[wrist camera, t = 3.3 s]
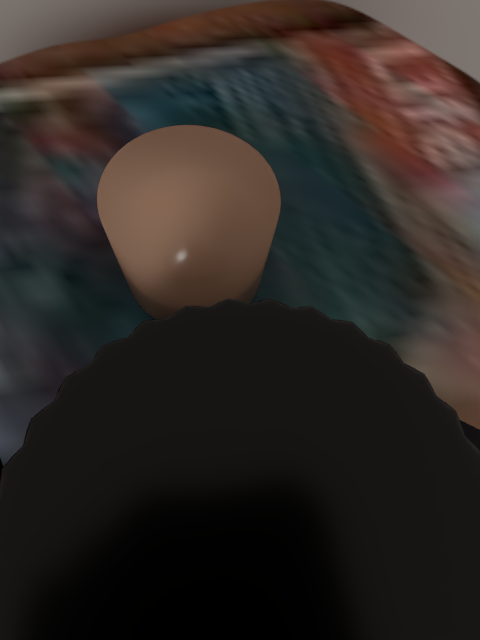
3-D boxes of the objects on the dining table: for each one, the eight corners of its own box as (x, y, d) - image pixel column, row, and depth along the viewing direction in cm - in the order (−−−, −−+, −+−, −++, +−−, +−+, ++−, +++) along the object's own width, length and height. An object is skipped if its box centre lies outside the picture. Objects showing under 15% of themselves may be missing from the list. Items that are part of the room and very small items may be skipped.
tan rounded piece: (285, 253, 18) (312, 179, 14) (212, 356, 16) (214, 312, 12) (180, 189, 19) (171, 99, 14) (97, 281, 17) (56, 210, 12)
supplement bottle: (332, 560, 14) (850, 936, 3) (140, 630, 13) (-294, 1759, 2) (275, 376, 16) (437, 172, 5) (106, 421, 15) (-182, 286, 4)
